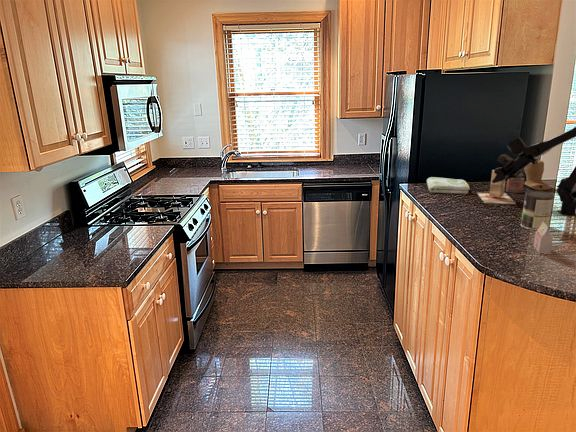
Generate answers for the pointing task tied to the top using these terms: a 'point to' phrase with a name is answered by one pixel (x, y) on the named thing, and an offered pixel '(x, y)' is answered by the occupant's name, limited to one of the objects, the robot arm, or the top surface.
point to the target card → (496, 199)
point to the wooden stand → (535, 176)
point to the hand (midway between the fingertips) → (495, 181)
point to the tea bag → (543, 239)
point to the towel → (447, 185)
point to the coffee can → (536, 209)
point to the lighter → (515, 184)
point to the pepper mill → (496, 187)
